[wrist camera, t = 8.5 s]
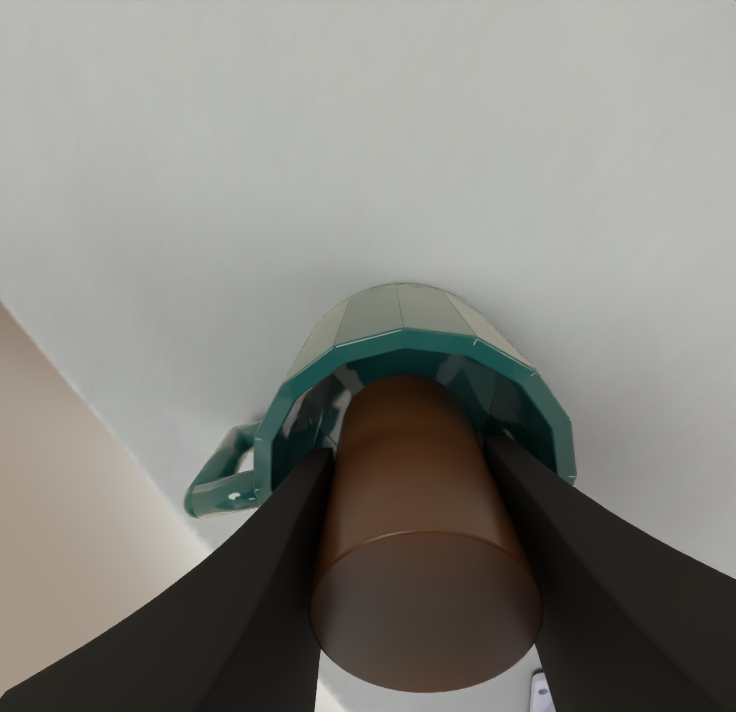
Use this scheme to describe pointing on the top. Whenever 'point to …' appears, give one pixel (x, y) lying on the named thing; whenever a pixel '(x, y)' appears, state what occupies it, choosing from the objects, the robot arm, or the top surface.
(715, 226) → the top surface
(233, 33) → the top surface
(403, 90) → the top surface
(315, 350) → the mug
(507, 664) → the walnut peg
